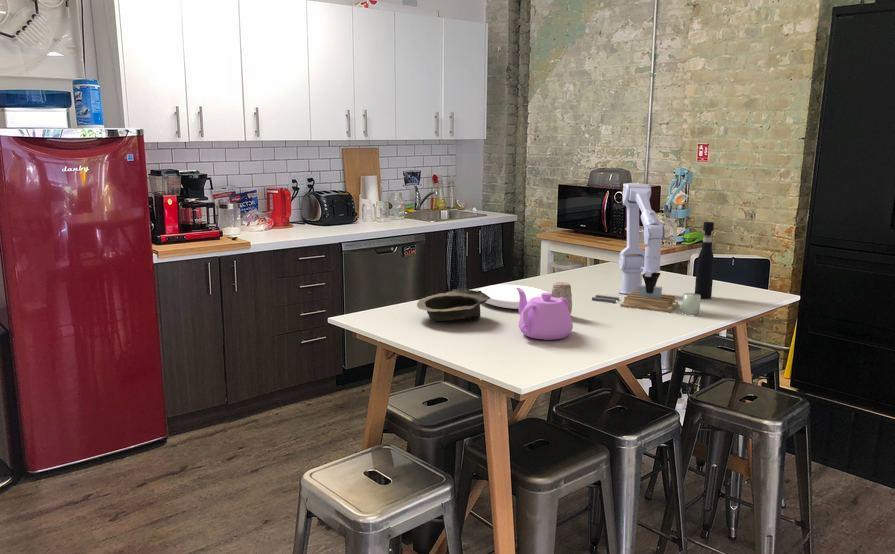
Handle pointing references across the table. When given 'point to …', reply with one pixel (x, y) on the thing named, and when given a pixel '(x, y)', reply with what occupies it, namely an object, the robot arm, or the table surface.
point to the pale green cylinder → (691, 304)
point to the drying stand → (605, 298)
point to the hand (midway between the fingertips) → (650, 292)
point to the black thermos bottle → (705, 264)
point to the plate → (509, 295)
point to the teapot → (544, 317)
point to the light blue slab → (656, 293)
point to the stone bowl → (454, 305)
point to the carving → (563, 292)
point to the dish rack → (649, 302)
